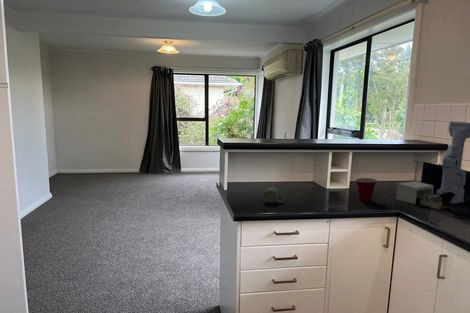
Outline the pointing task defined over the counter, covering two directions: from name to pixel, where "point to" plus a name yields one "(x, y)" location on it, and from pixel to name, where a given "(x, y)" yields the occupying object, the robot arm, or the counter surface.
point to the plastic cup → (365, 188)
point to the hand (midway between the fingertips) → (445, 206)
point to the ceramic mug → (272, 195)
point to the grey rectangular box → (412, 191)
